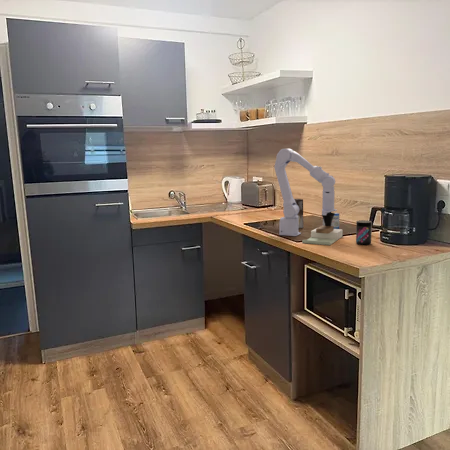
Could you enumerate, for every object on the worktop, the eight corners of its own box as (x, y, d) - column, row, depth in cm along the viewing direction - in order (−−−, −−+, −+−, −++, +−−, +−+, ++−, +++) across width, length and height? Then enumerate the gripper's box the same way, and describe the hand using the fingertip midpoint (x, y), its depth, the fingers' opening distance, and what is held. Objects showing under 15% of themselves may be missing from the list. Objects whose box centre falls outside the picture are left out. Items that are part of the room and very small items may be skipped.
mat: (302, 243, 196) (302, 239, 196) (310, 238, 207) (310, 235, 206) (329, 245, 190) (329, 242, 189) (337, 240, 200) (337, 237, 200)
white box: (311, 238, 207) (311, 231, 206) (317, 234, 215) (317, 227, 214) (337, 240, 200) (337, 232, 200) (342, 236, 208) (342, 229, 208)
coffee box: (298, 226, 240) (298, 198, 237) (303, 227, 234) (303, 199, 231) (283, 227, 238) (283, 199, 235) (288, 229, 232) (288, 200, 229)
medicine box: (325, 229, 226) (326, 214, 225) (322, 228, 231) (322, 213, 229) (339, 229, 228) (339, 213, 226) (335, 227, 232) (336, 212, 231)
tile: (316, 232, 202) (316, 228, 201) (321, 229, 209) (321, 225, 209) (328, 233, 199) (328, 229, 198) (333, 230, 206) (333, 226, 206)
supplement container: (352, 243, 193) (353, 220, 191) (365, 241, 195) (366, 219, 193) (361, 246, 187) (362, 223, 185) (374, 244, 189) (375, 222, 187)
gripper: (332, 202, 198) (331, 230, 200) (340, 199, 210) (339, 225, 213) (317, 202, 201) (317, 229, 204) (326, 198, 214) (326, 224, 216)
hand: (328, 227), depth 209 cm, fingers closed
